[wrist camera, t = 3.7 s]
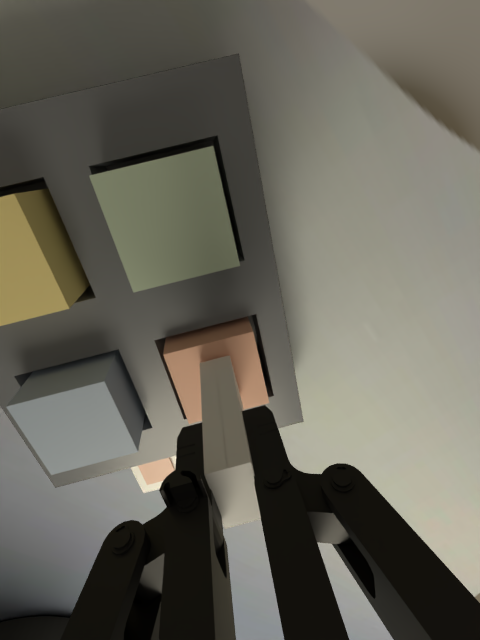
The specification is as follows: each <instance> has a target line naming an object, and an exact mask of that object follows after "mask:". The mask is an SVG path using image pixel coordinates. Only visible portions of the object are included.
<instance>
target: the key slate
mask: <svg viewBox="0 0 480 640" xmlns="http://www.w3.org/2000/svg"><path fill="white" fill-rule="evenodd" d="M6 407H7V409H8V410H9V412H10V413H11V415H12V416H13V418H14V420H15V421H16V423H17V424H18V426H19V427H20V429H21V430H22V432H23V433H24V435H25V436H26V438H27V439H28V441H29V442H30V444H31V445H32V447H33V448H34V450H35V451H36V453H37V454H38V456H39V457H40V459H41V460H42V462H43V463H44V465H45V466H46V468H47V469H48V471H49V472H50V474H51V475H54V474H57V473H61V472H65V471H69V470H72V469H76V468H80V467H84V466H87V465H91V464H95V463H99V462H102V461H106V460H110V459H114V458H118V457H121V456H125V455H129V454H133V453H136V452H138V450H139V445H140V439H141V434H142V429H143V423H144V418H145V412H146V411H145V409H144V407H143V405H142V402H141V400H140V398H139V395H138V393H137V391H136V388H135V386H134V384H133V382H132V379H131V377H130V375H129V372H128V370H127V368H126V365H125V363H124V361H123V359H122V356H121V354H120V352H119V349H118V350H114V351H110V352H107V353H103V354H99V355H95V356H91V357H87V358H83V359H79V360H75V361H71V362H68V363H64V364H60V365H56V366H52V367H48V368H44V369H40V370H36V371H33V372H32V374H31V375H30V376H29V378H28V379H27V380H26V381H25V383H24V384H23V385H22V387H21V388H20V389H19V391H18V392H17V393H16V394H15V396H14V397H13V398H12V400H11V401H10V402H9V404H8V405H7V406H6Z"/></svg>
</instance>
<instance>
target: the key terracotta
mask: <svg viewBox="0 0 480 640" xmlns="http://www.w3.org/2000/svg"><path fill="white" fill-rule="evenodd" d="M163 355H164V358H165V361H166V363H167V366H168V369H169V372H170V374H171V377H172V380H173V382H174V385H175V388H176V390H177V393H178V396H179V399H180V401H181V404H182V407H183V409H184V412H185V415H186V417H187V420H188V423H189V424H192V423H195V422H199V421H202V407H201V383H200V363H201V362H205V361H209V360H213V359H217V358H221V357H224V356H228V355H230V359H231V362H232V366H233V370H234V373H235V377H236V381H237V385H238V388H239V392H240V396H241V399H242V404H243V409H244V410H245V409H248V408H252V407H256V406H260V405H264V404H267V403H269V399H268V394H267V390H266V386H265V381H264V377H263V372H262V368H261V363H260V359H259V355H258V350H257V346H256V341H255V337H254V333H253V330H252V327H251V324H250V322H249V319H248V316H247V317H243V318H239V319H235V320H231V321H228V322H224V323H220V324H216V325H212V326H208V327H204V328H200V329H196V330H192V331H189V332H185V333H181V334H177V335H173V336H169V337H166V339H165V346H164V353H163Z"/></svg>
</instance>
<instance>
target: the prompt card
mask: <svg viewBox="0 0 480 640" xmlns="http://www.w3.org/2000/svg"><path fill="white" fill-rule="evenodd" d="M175 468H176V456H172V457H169V458H165V459H161V460H157V461H154V462H150V463H146V464H142V465H139V466H135V467H131V469H132V471H133V473H134V475H135V477H136V479H137V481H138V483H139V485H140V487H141V489H142V491H143V493H146V492H149V491H153V490H157V489H160V487H161V484H162V482H163V481H164V479H165V478H166V477H167V476H168V475H169V474H170V473H172V472H173V471H175Z"/></svg>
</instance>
